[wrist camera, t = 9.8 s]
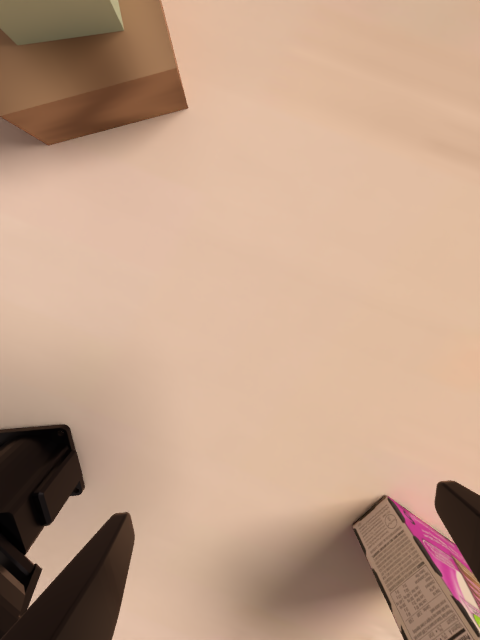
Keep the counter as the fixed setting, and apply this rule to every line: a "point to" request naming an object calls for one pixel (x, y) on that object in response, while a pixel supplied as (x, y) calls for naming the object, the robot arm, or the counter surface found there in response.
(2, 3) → the green cube
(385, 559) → the candy bar box
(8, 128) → the counter surface
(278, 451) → the counter surface
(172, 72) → the walnut block
